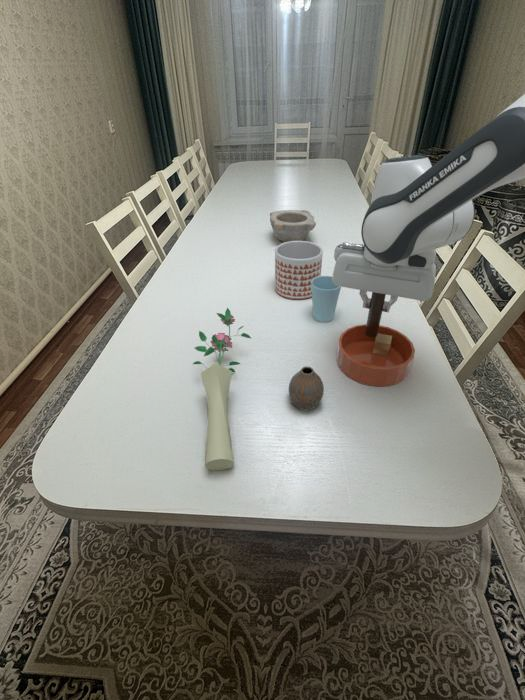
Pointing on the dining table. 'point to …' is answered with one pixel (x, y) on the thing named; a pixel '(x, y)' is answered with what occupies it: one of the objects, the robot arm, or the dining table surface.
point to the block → (382, 344)
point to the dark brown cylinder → (374, 314)
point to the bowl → (374, 357)
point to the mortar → (292, 224)
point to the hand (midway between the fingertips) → (376, 308)
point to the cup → (324, 298)
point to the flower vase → (218, 399)
